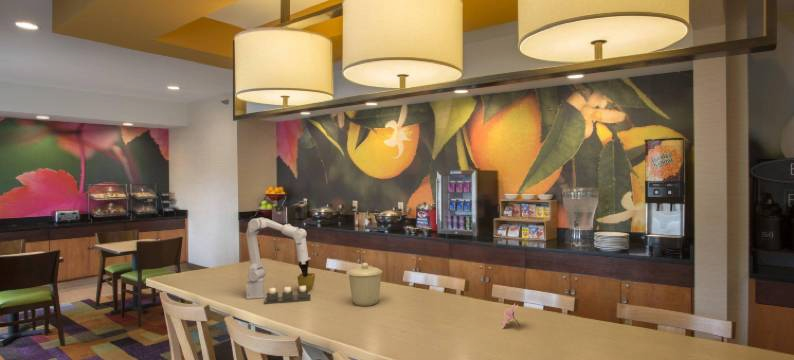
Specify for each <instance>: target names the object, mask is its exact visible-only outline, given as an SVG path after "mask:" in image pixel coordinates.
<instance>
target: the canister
mask: <svg viewBox="0 0 794 360" xmlns="http://www.w3.org/2000/svg"><path fill="white" fill-rule="evenodd" d="M382 274H383V270H382V269H380V268H378V267H376V266H369V263H368V262H362V263H361V266H357V267H355V268H352V269H350V270H348V271H347V275H348V280H349V288H350V293H351V299H352V302H353V304H354V305H357V306H360V307H362V306H363V307H367V306H373V305H375V304H377V303H378V302H379V300H380V292H381V283H382V281H381V280H382Z"/></svg>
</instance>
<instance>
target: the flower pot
mask: <svg viewBox="0 0 794 360" xmlns="http://www.w3.org/2000/svg"><path fill="white" fill-rule="evenodd" d="M296 278H297V284H298V287H299V286H302V285H305V286H306V290H308V292H309V291H312V289H313V287H314V285H315V279H316V273H315V272H308V276H307V277H303V274H302V272H301V273H300V274H299V275H298V276H297V277H296Z"/></svg>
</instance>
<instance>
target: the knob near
mask: <svg viewBox="0 0 794 360" xmlns="http://www.w3.org/2000/svg"><path fill="white" fill-rule="evenodd" d="M276 289H277V288H276V286H275V287H268V293H269V295H276V292H277V290H276Z"/></svg>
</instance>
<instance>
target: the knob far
mask: <svg viewBox="0 0 794 360" xmlns="http://www.w3.org/2000/svg"><path fill="white" fill-rule="evenodd" d="M298 289H299V290H298V291H299V293H305V292H306V286H305V285H302V286H299V285H298Z"/></svg>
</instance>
